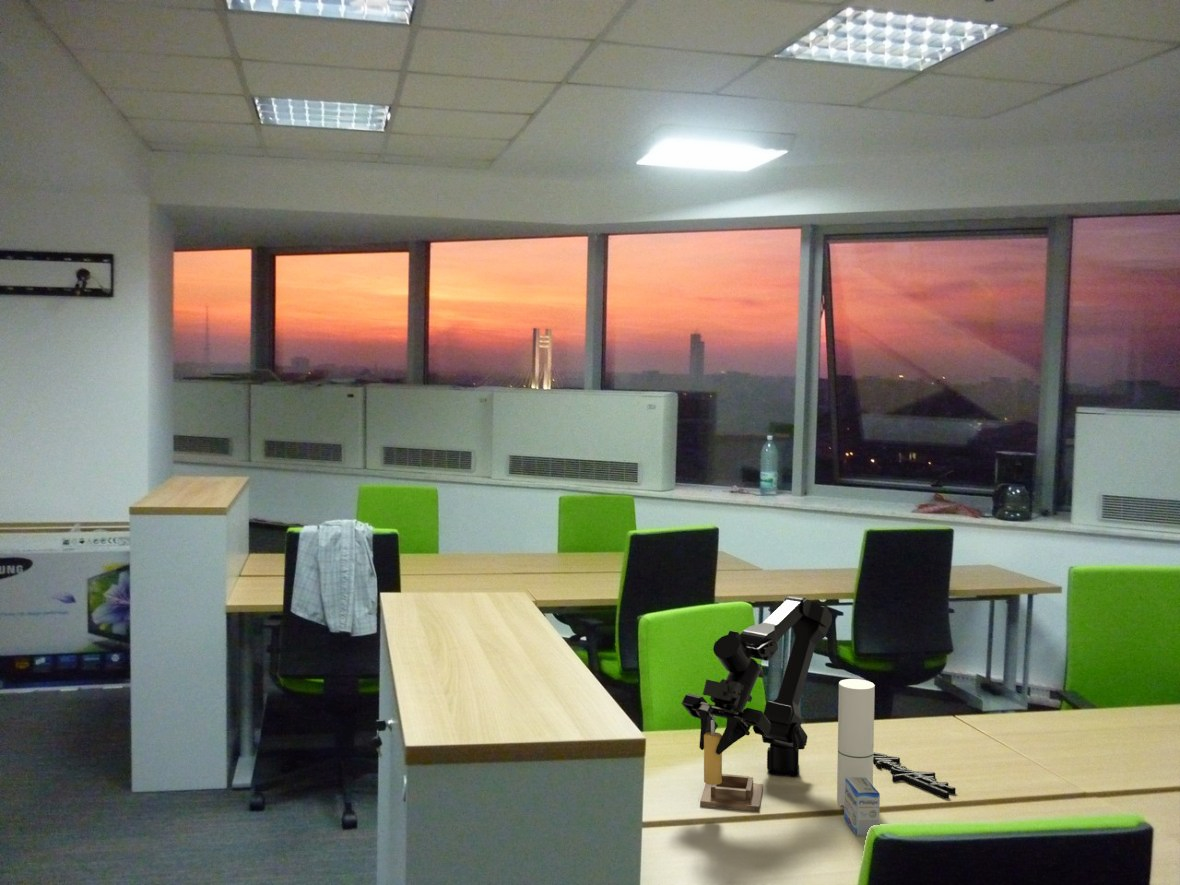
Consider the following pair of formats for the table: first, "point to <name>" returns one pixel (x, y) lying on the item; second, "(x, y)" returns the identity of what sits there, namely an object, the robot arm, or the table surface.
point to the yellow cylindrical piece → (712, 757)
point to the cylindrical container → (855, 732)
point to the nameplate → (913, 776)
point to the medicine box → (861, 805)
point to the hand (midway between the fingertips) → (709, 751)
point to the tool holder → (733, 793)
